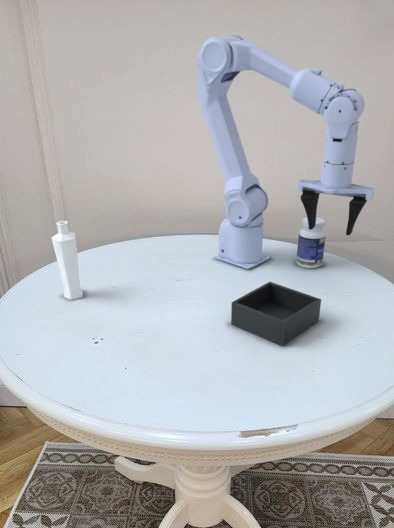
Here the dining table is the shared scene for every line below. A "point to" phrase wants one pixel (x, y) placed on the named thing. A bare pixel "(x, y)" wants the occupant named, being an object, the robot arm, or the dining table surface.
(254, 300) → the basket
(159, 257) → the dining table surface
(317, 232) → the pill bottle
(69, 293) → the perfume bottle
